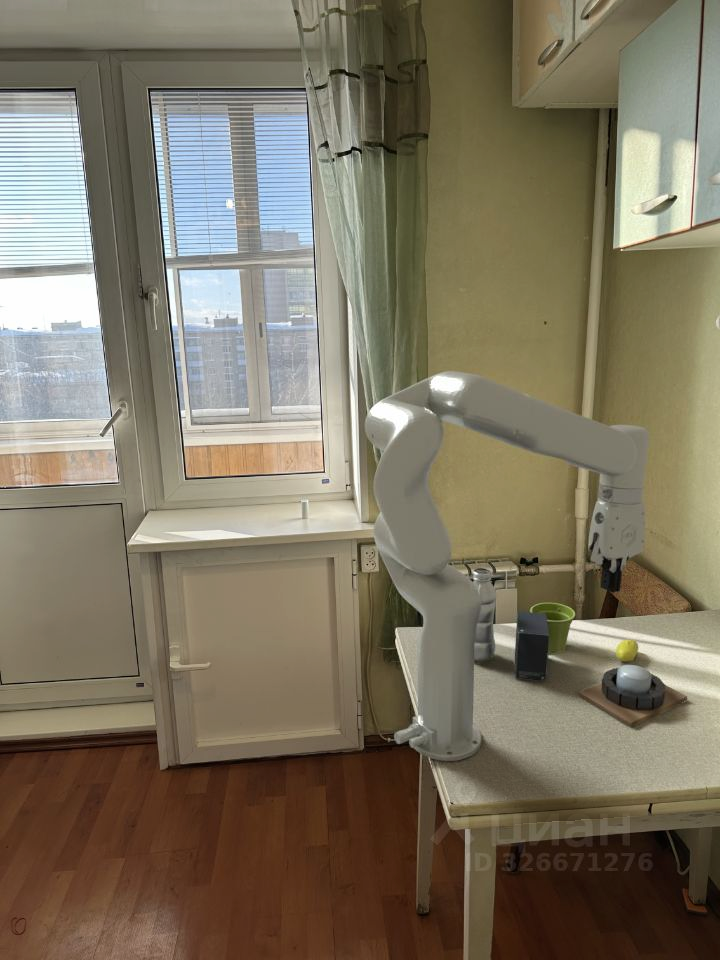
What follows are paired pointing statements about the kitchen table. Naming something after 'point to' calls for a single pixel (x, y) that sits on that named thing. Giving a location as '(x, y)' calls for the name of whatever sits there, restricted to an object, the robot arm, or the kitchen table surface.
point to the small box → (531, 646)
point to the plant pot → (556, 624)
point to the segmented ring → (632, 699)
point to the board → (625, 714)
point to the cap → (633, 679)
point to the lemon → (627, 650)
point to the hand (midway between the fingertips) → (609, 589)
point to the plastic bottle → (484, 615)
